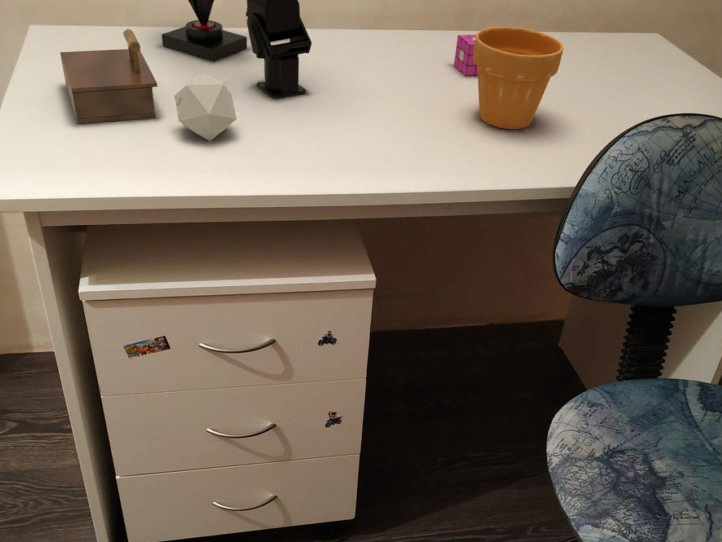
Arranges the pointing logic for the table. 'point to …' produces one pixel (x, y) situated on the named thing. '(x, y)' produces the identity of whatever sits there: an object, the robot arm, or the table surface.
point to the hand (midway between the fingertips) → (204, 24)
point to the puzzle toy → (465, 55)
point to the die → (205, 107)
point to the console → (204, 41)
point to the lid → (108, 68)
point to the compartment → (111, 104)
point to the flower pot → (513, 73)
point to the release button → (201, 26)
